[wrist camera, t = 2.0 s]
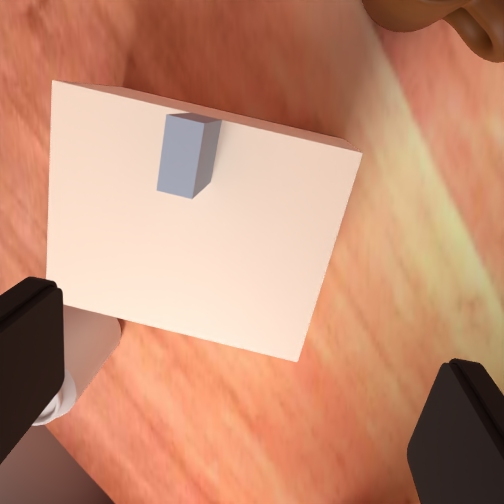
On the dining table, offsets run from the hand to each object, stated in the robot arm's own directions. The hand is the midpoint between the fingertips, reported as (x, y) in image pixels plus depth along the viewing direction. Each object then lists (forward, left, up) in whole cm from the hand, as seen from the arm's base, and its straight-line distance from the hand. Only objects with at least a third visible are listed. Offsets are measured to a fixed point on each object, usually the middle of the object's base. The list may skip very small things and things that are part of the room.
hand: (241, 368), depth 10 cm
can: (-21, +16, -29) cm, 39 cm away
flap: (-4, +5, -18) cm, 19 cm away
